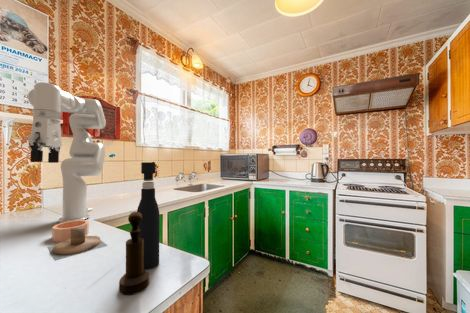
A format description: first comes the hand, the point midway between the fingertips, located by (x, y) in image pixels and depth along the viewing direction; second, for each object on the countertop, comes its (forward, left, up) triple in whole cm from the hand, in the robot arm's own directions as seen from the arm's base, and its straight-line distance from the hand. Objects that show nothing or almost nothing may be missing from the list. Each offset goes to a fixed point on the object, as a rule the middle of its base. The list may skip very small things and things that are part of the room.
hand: (45, 162), depth 75 cm
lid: (+3, +16, -29) cm, 34 cm away
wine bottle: (+12, +46, -30) cm, 56 cm away
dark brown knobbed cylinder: (+22, +48, -30) cm, 61 cm away
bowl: (-6, +5, -30) cm, 31 cm away
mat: (+3, +16, -30) cm, 34 cm away
